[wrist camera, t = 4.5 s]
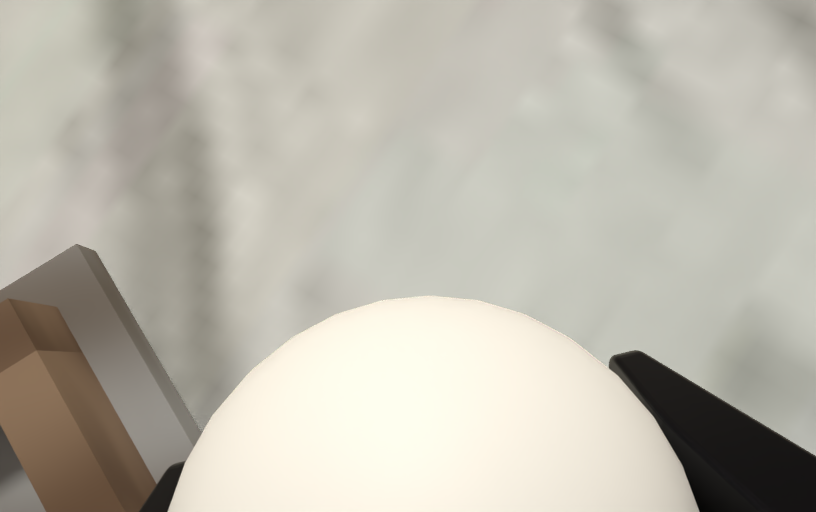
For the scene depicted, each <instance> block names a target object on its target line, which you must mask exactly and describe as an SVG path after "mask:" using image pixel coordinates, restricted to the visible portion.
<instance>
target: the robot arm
mask: <svg viewBox="0 0 816 512" xmlns="http://www.w3.org/2000/svg"><path fill="white" fill-rule="evenodd" d="M609 369H610V370H611V371H613V372H614V373H615V374H616V375H618V376H619V377H620V379H621V380H622V381H623V382H624V383H625V384H626V386H627V387H628V388H629V389H630V390H631V391H632V392H633V394H634V395H635V396H636V397H637V398H638V399H639V401H640V402H641V403H642V404H643V405H644V406H645V407H646V409H647V410H648V411H649V412H650V413H651V414H652V415H653V417H654V418H655V420H656V422H657V423H658V425H659V427H660V428H661V430H662V432H663V433H664V435H665V437H666V438H667V440H668V442H669V444H670V445H671V447H672V449H673V450H674V452H675V454H676V455H677V457H678V459H679V460H680V462H681V464H682V466H683V468H684V471H685V474H686V477H687V479H688V482H689V485H690V487H691V490H692V493H693V496H694V498H695V501H696V504H697V506H698V509H699V512H816V456H815V455H813V454H811V453H810V452H808V451H806V450H805V449H803V448H801V447H800V446H798V445H796V444H795V443H793V442H791V441H790V440H788V439H786V438H785V437H783V436H781V435H780V434H778V433H776V432H775V431H773V430H771V429H770V428H768V427H766V426H765V425H763V424H761V423H760V422H758V421H756V420H755V419H753V418H751V417H750V416H748V415H746V414H745V413H743V412H741V411H740V410H738V409H736V408H735V407H733V406H732V405H730V404H728V403H727V402H725V401H723V400H722V399H720V398H718V397H717V396H715V395H713V394H712V393H710V392H708V391H707V390H705V389H703V388H702V387H700V386H698V385H697V384H695V383H693V382H692V381H690V380H688V379H687V378H685V377H683V376H682V375H680V374H678V373H677V372H675V371H673V370H672V369H670V368H668V367H667V366H665V365H663V364H662V363H660V362H658V361H657V360H655V359H653V358H652V357H650V356H648V355H647V354H645V353H643V352H641V351H637V350H634V351H629V352H625V353H621V354H617V355H614V356H612V357H611V359H610V361H609ZM185 462H186V461H183V462H179V463H175V464H173V465H171V466H170V467H169V468H168V469H167V470H166V471H165V473H164V474H163V476H162V477H161V479H160V480H159V482H158V483H157V485H156V486H155V488H154V489H153V491H152V492H151V494H150V495H149V497H148V498H147V499H146V501H145V502H144V504H143V505H142V507H141V508H140V510H139V511H138V512H168V509H169V506H170V504H171V501H172V498H173V495H174V492H175V490H176V487H177V484H178V481H179V478H180V476H181V473H182V470H183V467H184V464H185Z"/></svg>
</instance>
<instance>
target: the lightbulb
mask: <svg viewBox="0 0 816 512" xmlns="http://www.w3.org/2000/svg"><path fill="white" fill-rule="evenodd" d="M168 512H699V509H698V506H697V504H696V501H695V498H694V496H693V493H692V490H691V487H690V485H689V482H688V479H687V477H686V474H685V471H684V468H683V466H682V464H681V462H680V460H679V459H678V457H677V455H676V454H675V452H674V450H673V449H672V447H671V445H670V444H669V442H668V440H667V438H666V437H665V435H664V433H663V432H662V430H661V428H660V427H659V425H658V423H657V422H656V420H655V418H654V417H653V415H652V414H651V413H650V412H649V411H648V410H647V409H646V407H645V406H644V405H643V404H642V403H641V402H640V401H639V399H638V398H637V397H636V396H635V395H634V394H633V392H632V391H631V390H630V389H629V388H628V387H627V386H626V384H625V383H624V382H623V381H622V380H621V379H620V377H619V376H618V375H616V374H615V373H614V372H613V371H611V370H610V369H609V368H608V367H606V366H605V365H604V364H603V363H601V362H600V361H599V360H598V359H596V358H595V357H594V356H593V355H591V354H590V353H589V352H587V351H586V350H585V349H584V348H582V347H581V346H580V345H579V344H577V343H576V342H575V341H573V340H572V339H571V338H569V337H568V336H566V335H564V334H562V333H560V332H558V331H556V330H554V329H552V328H550V327H549V326H547V325H545V324H543V323H541V322H539V321H537V320H535V319H533V318H531V317H529V316H528V315H526V314H523V313H519V312H516V311H513V310H509V309H506V308H503V307H499V306H496V305H493V304H489V303H486V302H483V301H479V300H471V299H461V298H450V297H440V296H420V297H410V298H400V299H390V300H381V301H378V302H375V303H371V304H368V305H365V306H361V307H358V308H355V309H351V310H348V311H345V312H341V313H338V314H335V315H333V316H331V317H330V318H328V319H326V320H324V321H322V322H320V323H318V324H316V325H314V326H313V327H311V328H309V329H307V330H305V331H303V332H301V333H299V334H297V335H295V336H294V337H292V338H291V339H289V340H288V341H287V342H286V343H284V344H283V345H282V346H281V347H280V348H278V349H277V350H276V351H275V352H273V353H272V354H271V355H270V356H268V357H267V358H266V359H265V360H263V361H262V362H261V363H260V364H258V365H257V366H256V367H255V368H253V369H252V370H251V371H250V372H249V373H248V374H247V376H246V377H245V378H244V379H243V380H242V381H241V383H240V384H239V385H238V386H237V387H236V388H235V390H234V391H233V392H232V393H231V394H230V395H229V397H228V398H227V399H226V400H225V401H224V402H223V404H222V405H221V406H220V407H219V408H218V409H217V411H216V412H215V413H214V414H213V415H212V417H211V419H210V420H209V422H208V424H207V426H206V427H205V429H204V431H203V433H202V434H201V436H200V438H199V440H198V441H197V443H196V445H195V446H194V448H193V450H192V452H191V453H190V455H189V457H188V459H187V460H186V462H185V464H184V467H183V470H182V473H181V476H180V478H179V481H178V484H177V487H176V490H175V492H174V495H173V498H172V501H171V504H170V506H169V509H168Z"/></svg>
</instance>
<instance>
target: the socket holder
mask: <svg viewBox="0 0 816 512" xmlns="http://www.w3.org/2000/svg"><path fill="white" fill-rule="evenodd" d="M201 434H202V433H201V432H200V430H199V428H198V427H197V425H196V423H195V421H194V420H193V418H192V416H191V415H190V413H189V411H188V409H187V408H186V406H185V404H184V402H183V401H182V399H181V397H180V396H179V394H178V392H177V390H176V389H175V387H174V385H173V384H172V382H171V380H170V378H169V377H168V375H167V373H166V372H165V370H164V368H163V366H162V365H161V363H160V361H159V360H158V358H157V356H156V354H155V353H154V351H153V349H152V347H151V346H150V344H149V342H148V341H147V339H146V337H145V335H144V334H143V332H142V330H141V329H140V327H139V325H138V323H137V322H136V320H135V318H134V317H133V315H132V313H131V311H130V310H129V308H128V306H127V304H126V303H125V301H124V299H123V298H122V296H121V294H120V292H119V291H118V289H117V287H116V286H115V284H114V282H113V280H112V279H111V277H110V275H109V274H108V272H107V270H106V268H105V267H104V265H103V263H102V261H101V260H100V258H99V256H98V255H97V253H96V251H94V250H91V249H89V248H86V247H83V246H81V245H78V244H76V245H74V246H72V247H71V248H69V249H67V250H66V251H64V252H62V253H61V254H59V255H58V256H56V257H54V258H53V259H51V260H49V261H48V262H46V263H44V264H43V265H41V266H40V267H38V268H36V269H35V270H33V271H31V272H30V273H28V274H26V275H25V276H23V277H21V278H20V279H18V280H17V281H15V282H13V283H12V284H10V285H8V286H7V287H5V288H3V289H2V290H0V512H138V511H139V510H140V508H141V507H142V505H143V504H144V502H145V501H146V499H147V498H148V497H149V495H150V494H151V492H152V491H153V489H154V488H155V486H156V485H157V483H158V482H159V480H160V479H161V477H162V476H163V474H164V473H165V471H166V470H167V469H168V468H169V467H170V466H171V465H173V464H175V463H179V462H183V461H186V460H187V459H188V457H189V455H190V453H191V452H192V450H193V448H194V446H195V445H196V443H197V441H198V440H199V438H200V436H201Z"/></svg>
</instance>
